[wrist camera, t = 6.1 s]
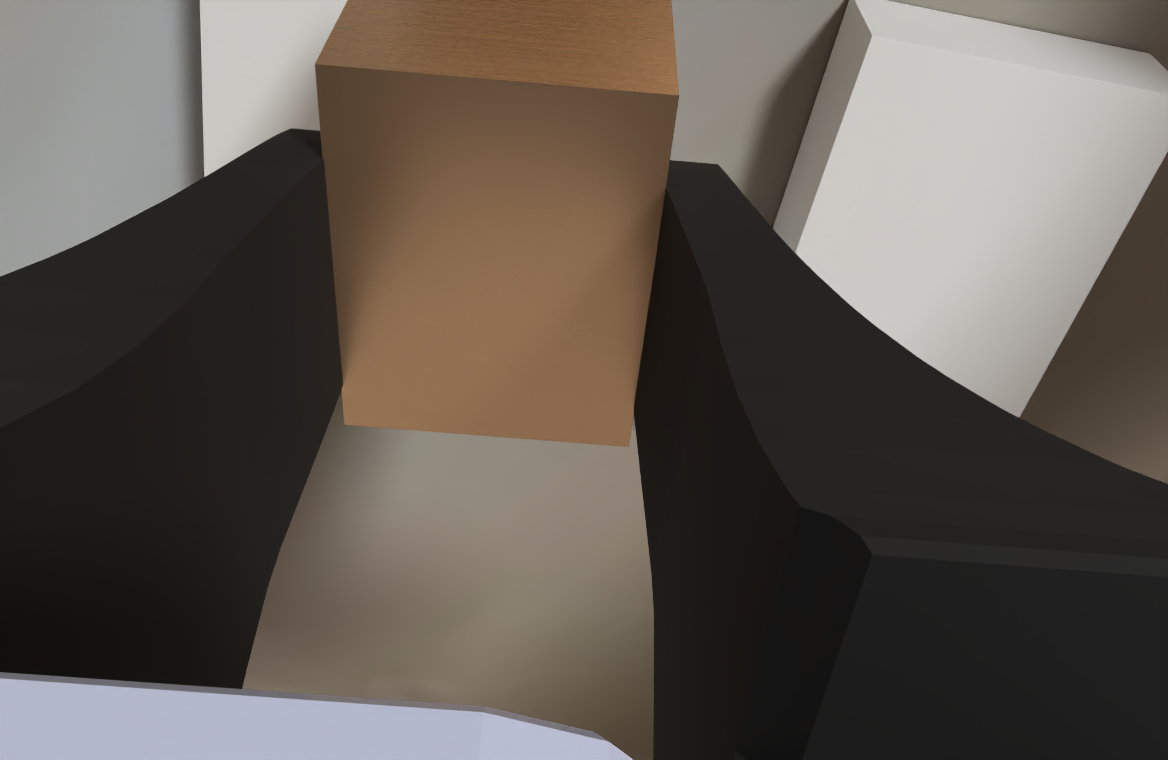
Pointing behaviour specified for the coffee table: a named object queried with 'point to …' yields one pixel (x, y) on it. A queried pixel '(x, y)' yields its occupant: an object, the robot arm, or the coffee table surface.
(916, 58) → the board
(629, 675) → the coffee table surface
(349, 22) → the block
